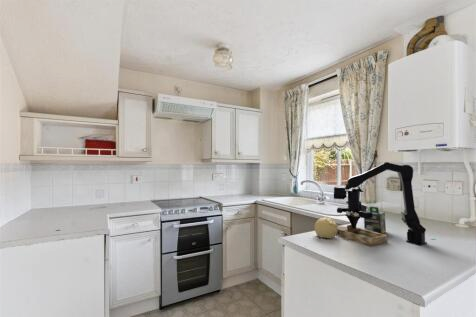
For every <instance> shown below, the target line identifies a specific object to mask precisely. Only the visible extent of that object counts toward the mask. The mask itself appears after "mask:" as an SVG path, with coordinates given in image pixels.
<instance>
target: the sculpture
mask: <svg viewBox="0 0 476 317" xmlns="http://www.w3.org/2000/svg"><path fill="white" fill-rule="evenodd" d="M337 226H338V224H337V223H336V222H335V220H334V219H333V218H331V217H327V216H323V217H322V218H319V219H317V220H316V222H315V224H314V232H315V233H316V234H315V235H316V236H318V237H319V238H324V239H333V238H334V237H336V236H337V232H338V231H337V229H338V227H337Z"/></svg>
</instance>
